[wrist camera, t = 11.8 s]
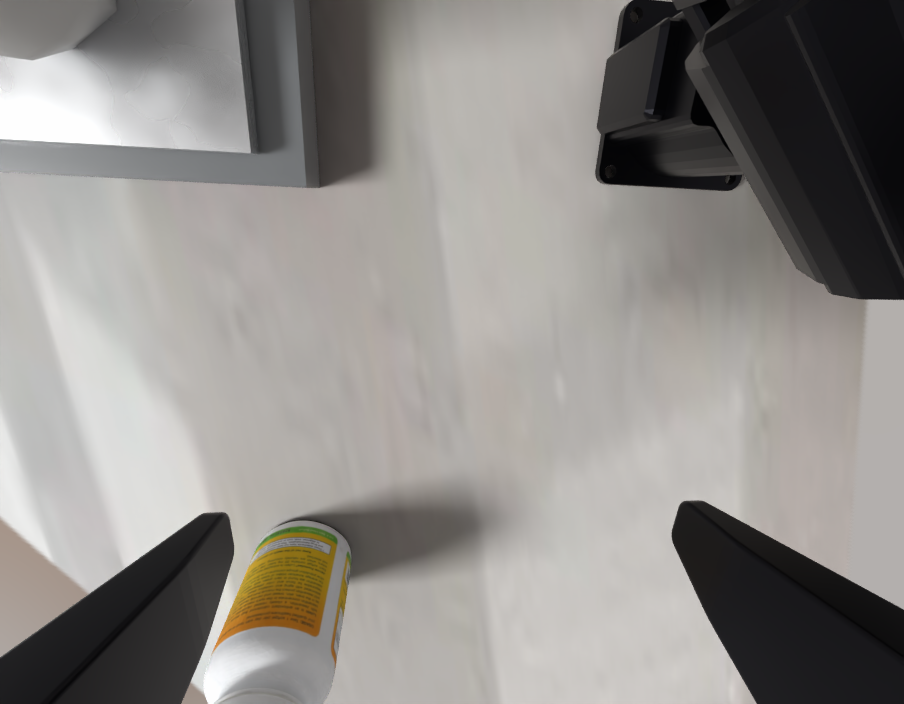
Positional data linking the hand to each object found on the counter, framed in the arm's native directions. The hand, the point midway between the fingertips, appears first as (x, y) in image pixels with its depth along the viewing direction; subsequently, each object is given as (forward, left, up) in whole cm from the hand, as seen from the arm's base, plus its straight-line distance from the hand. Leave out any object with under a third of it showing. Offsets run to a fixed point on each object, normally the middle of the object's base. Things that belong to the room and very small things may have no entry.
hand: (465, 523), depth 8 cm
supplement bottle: (+7, +14, -13) cm, 20 cm away
